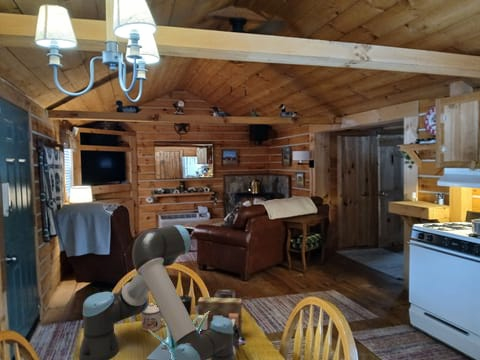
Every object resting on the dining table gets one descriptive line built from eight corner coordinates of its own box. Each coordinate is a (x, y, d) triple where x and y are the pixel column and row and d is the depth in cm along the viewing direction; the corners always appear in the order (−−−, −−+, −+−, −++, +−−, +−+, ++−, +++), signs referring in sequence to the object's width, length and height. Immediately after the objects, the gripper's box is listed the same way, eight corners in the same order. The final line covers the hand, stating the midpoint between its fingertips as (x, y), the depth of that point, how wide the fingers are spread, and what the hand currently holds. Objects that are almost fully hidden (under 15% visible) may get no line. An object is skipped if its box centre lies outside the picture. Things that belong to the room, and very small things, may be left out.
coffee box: (236, 322, 172) (236, 289, 171) (233, 328, 166) (232, 294, 165) (218, 320, 174) (218, 288, 173) (214, 326, 168) (214, 293, 167)
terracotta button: (228, 327, 152) (228, 316, 152) (230, 319, 160) (230, 308, 160) (237, 327, 152) (237, 316, 152) (239, 319, 160) (239, 309, 160)
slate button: (212, 330, 150) (212, 318, 150) (215, 321, 158) (215, 310, 158) (221, 330, 150) (221, 318, 150) (224, 322, 158) (224, 311, 158)
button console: (198, 337, 157) (198, 300, 156) (201, 331, 163) (200, 295, 162) (240, 339, 155) (240, 302, 154) (241, 332, 161) (241, 297, 161)
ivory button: (197, 329, 151) (197, 317, 151) (201, 321, 159) (201, 310, 158) (206, 329, 150) (206, 318, 150) (210, 321, 158) (210, 310, 158)
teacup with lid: (139, 332, 162) (139, 307, 161) (143, 323, 171) (143, 300, 170) (166, 331, 162) (166, 306, 162) (168, 323, 172) (168, 299, 171)
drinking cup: (188, 321, 173) (188, 281, 172) (195, 327, 166) (194, 286, 165) (173, 325, 169) (173, 284, 168) (179, 332, 162) (179, 289, 161)
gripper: (208, 360, 129) (218, 330, 153) (243, 361, 128) (248, 331, 151) (208, 340, 129) (218, 313, 152) (243, 341, 128) (248, 314, 151)
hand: (233, 322), depth 152 cm, fingers closed
